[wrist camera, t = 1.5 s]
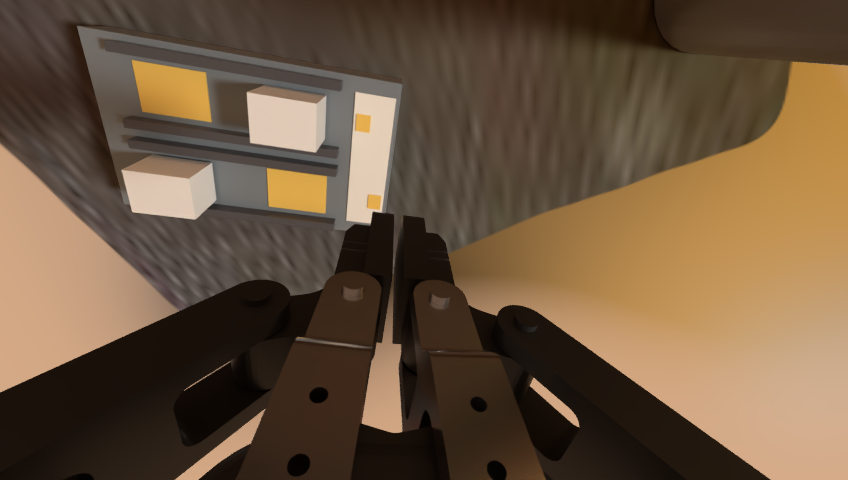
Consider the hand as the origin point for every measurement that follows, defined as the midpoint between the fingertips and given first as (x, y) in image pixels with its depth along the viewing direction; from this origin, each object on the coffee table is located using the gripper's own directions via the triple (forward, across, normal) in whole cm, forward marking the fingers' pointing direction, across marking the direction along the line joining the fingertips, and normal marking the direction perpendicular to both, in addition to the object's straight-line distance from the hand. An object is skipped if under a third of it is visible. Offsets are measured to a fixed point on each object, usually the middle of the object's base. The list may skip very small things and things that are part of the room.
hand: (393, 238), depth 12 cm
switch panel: (+19, +10, +3) cm, 22 cm away
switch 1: (+16, +15, +6) cm, 23 cm away
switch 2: (+16, +7, 0) cm, 17 cm away
